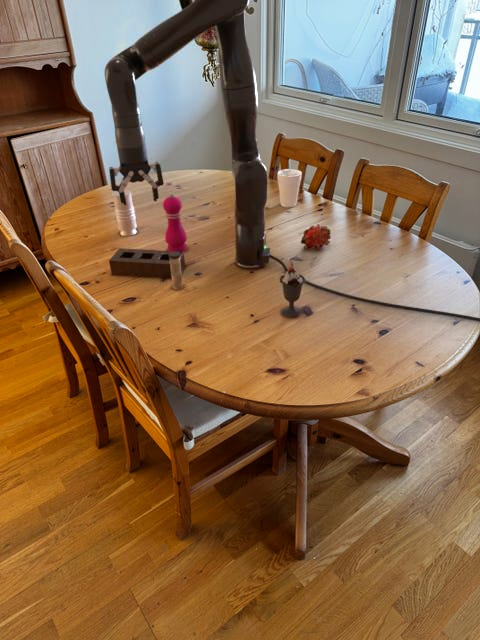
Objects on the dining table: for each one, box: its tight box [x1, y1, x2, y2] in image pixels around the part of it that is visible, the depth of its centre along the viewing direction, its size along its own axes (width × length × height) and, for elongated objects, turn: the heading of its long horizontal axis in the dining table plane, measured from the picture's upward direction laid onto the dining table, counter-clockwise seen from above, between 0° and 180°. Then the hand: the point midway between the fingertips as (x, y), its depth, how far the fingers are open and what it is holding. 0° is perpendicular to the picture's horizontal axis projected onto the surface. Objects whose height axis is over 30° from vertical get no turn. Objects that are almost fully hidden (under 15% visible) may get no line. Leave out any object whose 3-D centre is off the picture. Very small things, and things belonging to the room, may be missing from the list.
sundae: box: [279, 258, 307, 318], centre depth 120 cm, size 7×7×15 cm
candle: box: [111, 188, 138, 237], centre depth 166 cm, size 7×7×15 cm
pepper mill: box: [162, 192, 188, 253], centre depth 152 cm, size 7×7×20 cm
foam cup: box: [277, 168, 303, 208], centre depth 186 cm, size 10×9×13 cm
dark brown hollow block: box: [108, 247, 186, 280], centre depth 145 cm, size 21×9×5 cm, turn 81°
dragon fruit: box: [300, 223, 332, 251], centre depth 154 cm, size 8×8×12 cm
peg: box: [168, 251, 184, 291], centre depth 134 cm, size 3×3×11 cm
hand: (140, 202), depth 132 cm, fingers open, 8 cm apart
